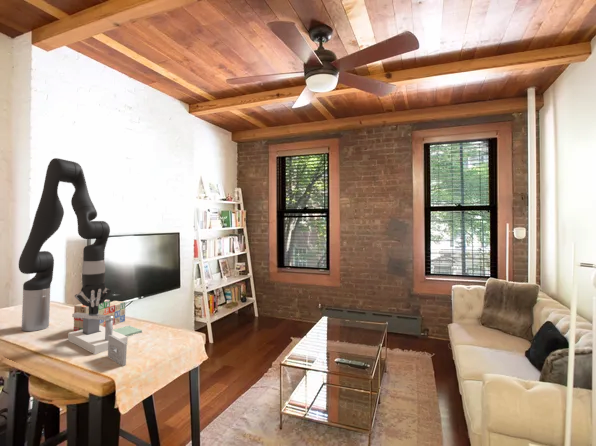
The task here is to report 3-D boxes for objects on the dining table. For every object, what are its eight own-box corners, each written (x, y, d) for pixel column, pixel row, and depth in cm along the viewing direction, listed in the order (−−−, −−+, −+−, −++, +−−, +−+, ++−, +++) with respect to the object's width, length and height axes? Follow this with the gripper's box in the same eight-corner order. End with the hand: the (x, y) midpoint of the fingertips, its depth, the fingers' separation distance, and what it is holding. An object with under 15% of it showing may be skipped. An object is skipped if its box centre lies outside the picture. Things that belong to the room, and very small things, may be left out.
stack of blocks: (114, 319, 155) (115, 294, 155) (125, 321, 153) (126, 295, 153) (72, 334, 134) (74, 304, 134) (84, 336, 133) (85, 306, 133)
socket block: (68, 340, 127) (69, 314, 127) (100, 332, 137) (100, 308, 137) (94, 354, 116) (95, 325, 116) (127, 344, 126) (128, 318, 126)
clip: (114, 318, 123) (114, 315, 123) (109, 320, 121) (109, 317, 121) (77, 315, 126) (77, 312, 126) (71, 317, 123) (71, 314, 123)
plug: (82, 339, 129) (83, 314, 129) (93, 336, 132) (94, 312, 132) (87, 341, 126) (88, 316, 126) (98, 338, 130) (99, 314, 130)
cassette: (127, 365, 109) (128, 342, 109) (121, 366, 107) (122, 344, 107) (111, 355, 116) (112, 333, 116) (106, 356, 114) (106, 335, 114)
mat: (106, 333, 136) (106, 331, 136) (129, 327, 145) (129, 325, 145) (118, 338, 131) (118, 336, 131) (142, 332, 139) (142, 330, 139)
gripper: (106, 268, 133) (105, 310, 134) (70, 273, 122) (69, 318, 122) (116, 270, 129) (115, 313, 130) (79, 275, 118) (79, 321, 118)
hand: (93, 315), depth 126 cm, fingers closed
